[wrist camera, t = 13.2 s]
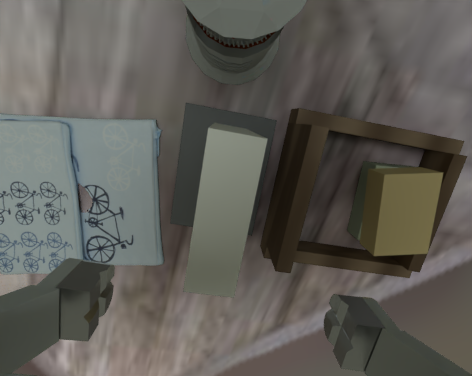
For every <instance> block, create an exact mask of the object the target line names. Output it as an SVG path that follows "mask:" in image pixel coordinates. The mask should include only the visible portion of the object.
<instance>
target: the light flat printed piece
mask: <svg viewBox="0 0 472 376" xmlns="http://www.w3.org/2000/svg"><path fill="white" fill-rule="evenodd" d="M156 121H157V120H152V119H147V120H126V119H84V118H64V117H50V116H28V115H12V114H1V113H0V272H1V274H28V273H37V274H50V273H51V272H52V271H53V270H54V269H55V268H57V267H58V266H59V265H60V264H61V263H62V262H63V261H64V260H66V259H68V258H74V259H82V260H89V261H95V262H101V263H108V264H113V265H146V266H149V265H162V264H163V263H164V258H163V251H162V242H161V230H160V210H159V184H158V164H157V156H159V138H160V134H161V131H162V130H160V129H159V128H158V127H157V125H156ZM157 151H158V154H157ZM78 183H80V184H81V185H82V186H83V187H85V189H86V190H87V192H88V193H89V195H90V196H91V197H92V200H93V203H92V207H91V208H90V209H89V211H88V210H87V211H88V212H87V213H82V212H81V210H80V207H79V201H78V191H79V189H78Z"/></svg>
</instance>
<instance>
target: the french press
mask: <svg viewBox="0 0 472 376" xmlns="http://www.w3.org/2000/svg"><path fill="white" fill-rule="evenodd" d="M182 1H183V2H184V4H185V6H186V10H187V14H188V16H187V18H186V41H187V45H188V48H189V51H190V54H191V57H192V59H193V60H194V62H195V63H196V64H197V65H198V67H199V68H200V69H201V70H202V72H203V73H204V74H205V75H207V76H209V77H211V78H212V79H214V80H216V81H218V82H220V83H224V84H234V85H240V84H243V83H246V82H249V81H252V80H255V79H256V78H257V77H259V76H260V75H261V74H262V73H263V72H264V71H265V70H267V69H268V68H269V67H270V65H271V63H272V61H273V59H274V57H275V55H276V53H277V51H278V47H279V39H280V33H281V31H282V29H283V27H284V25H285V24H287V23H288V22H289V21H290V20H291V19H292V18H293V17H294V16H296V15H297V14H298V13H299V12H300V11H301V10H302V8H303V6H304V5H305V3H306V1H307V0H182Z"/></svg>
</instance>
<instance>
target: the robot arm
mask: <svg viewBox="0 0 472 376" xmlns="http://www.w3.org/2000/svg"><path fill="white" fill-rule="evenodd" d="M114 269H115V267H114V265H113V264H108V263H101V262H95V261H89V260H82V259H74V258H68V259H66V260H64V261H63V262H62V263H61V264H60V265H59V266H58V267H57V268H55V269H54V270H53V271H52V272H51V273H50V274H49V275H48V276H46V277H45V278H44V279H43V280H42V281H41V282H40V283H39V284H38V285H36V286H35V285H30V286H27V287H24V288H22V289H19V290H16V291H13V292H10V293H8V294H5V295H2V296H0V376H35V375H23V374H14V373H12V372H14V371H15V370H17V369H18V368H20V367H21V366H23V365H24V364H26V363H27V362H28V361H30V360H31V359H33V358H34V357H36V356H37V355H39V354H40V353H42V352H43V351H45V350H46V349H48V348H49V347H50V346H52V345H53V344H55V343H56V342H58V341H59V339H64V340H77V341H89V339H90V337H91V336H92V334H93V332H94V331H95V329H96V328H97V326H98V322H99V317H101V316H103V315H104V314H105V313H106V311H107V309H108V307H109V305H110V302H111V299H112V295H113V287H114V286H113V285H112V283H111V282H110V281H111V279H112V278H113V276H114ZM329 304H330V306H331V308H332V309H330V310H329V311H328V312H327V313H326V315H325V319H324V331H325V335H326V337H327V339H328V341H329V342H330V343H331V344H332V345H334V349H333V352H334V355H335V357H336V359H337V361H338V363H339V365H340V368H341V369H348V370H355V371H363V372H365V374H366V375H367V376H472V374H470V373H469V372H467V371H465V370H464V369H463V368H461V367H459V366H458V365H456V364H455V363H453V362H452V361H450V360H449V359H447V358H445V357H444V356H442V355H441V354H439V353H438V352H436V351H435V350H433V349H432V348H430V347H428V346H427V345H425V344H424V343H422V342H421V341H419V340H417V339H416V338H414V337H413V336H411V335H410V334H408V333H407V332H405V331H401V330H400V329H399V328H398V327H397V326H396V324H395V323H394V322H393V321H392V320H391V318H390V317H389V316H388V315H387V314H386V312H385V311H384V310H383V309H382V307H381V306H380V305H379V304H378V303H377V301H376V300H374V299H372V298H366V297H354V296H345V295H337V294H334V295H333V296H332V297H331V299H330V302H329Z"/></svg>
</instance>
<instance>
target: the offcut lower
mask: <svg viewBox="0 0 472 376" xmlns="http://www.w3.org/2000/svg"><path fill="white" fill-rule="evenodd" d="M409 167H412V166H405V165H395V164H386V163H376V162H367V161H363V165H362V169H361V174H360V178H359V182H358V186H357V190H356V195H355V199H354V203H353V207H352V211H351V216H350V220H349V224H348V228H347V231H348V232H349V233H350V234H352V235H353V236H354V237H355V238H356V239H357V240H360V236H361V227H362V219H363V210H364V202H365V193H366V184H367V176H368V169H376V168H409Z"/></svg>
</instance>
